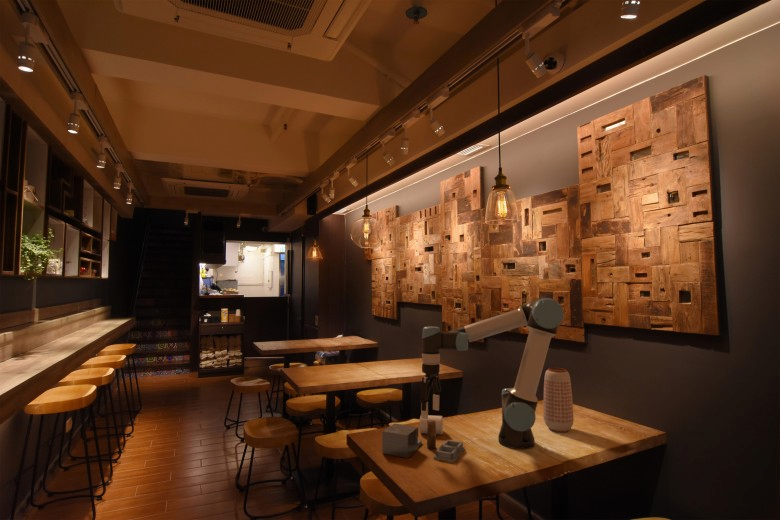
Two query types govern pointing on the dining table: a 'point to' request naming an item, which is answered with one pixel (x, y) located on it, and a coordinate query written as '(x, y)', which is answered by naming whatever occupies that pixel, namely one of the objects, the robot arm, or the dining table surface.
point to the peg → (431, 434)
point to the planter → (558, 400)
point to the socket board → (449, 451)
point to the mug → (438, 424)
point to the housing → (400, 440)
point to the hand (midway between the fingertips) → (430, 414)
